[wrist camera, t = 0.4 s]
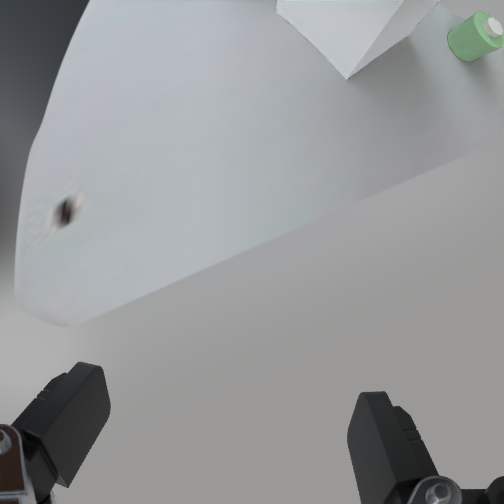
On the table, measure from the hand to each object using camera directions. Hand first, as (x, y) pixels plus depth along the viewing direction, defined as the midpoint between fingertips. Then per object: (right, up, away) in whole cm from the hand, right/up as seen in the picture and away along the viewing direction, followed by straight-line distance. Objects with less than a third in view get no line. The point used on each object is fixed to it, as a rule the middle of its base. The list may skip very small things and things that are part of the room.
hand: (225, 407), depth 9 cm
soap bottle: (+29, +32, +20) cm, 48 cm away
